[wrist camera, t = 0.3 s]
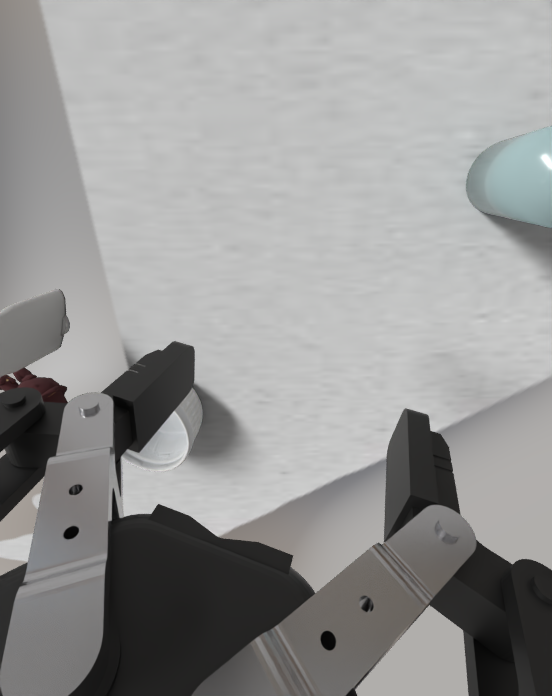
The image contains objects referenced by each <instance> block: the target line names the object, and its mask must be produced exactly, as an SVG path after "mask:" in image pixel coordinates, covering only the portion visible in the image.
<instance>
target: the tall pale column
mask: <svg viewBox="0 0 552 696" xmlns="http://www.w3.org/2000/svg"><path fill="white" fill-rule="evenodd" d="M69 328H70V323H69V320H68V317H67V316H66V305H65V297H64V295H63V292H62V291H61V290H60V289H55V290H53V291H50V292H47V293H44V294H41V295H38V296H35V297H32V298H29V299H27V300H24V301H21V302H18V303H15V304H12V305H9V306H8V307H6V308H5V309H3V310H1V311H0V378H1V377H2V376H3V375H7V374H10V373H14V372H17V371H18V370H20V369H22V368H24V367H26V366H28V365H29V364H31V363H33V362H35V361H37V360H39V359H40V358H42V357H44V356H46V355H48V354H50V353H52V352H53V351H55V350H57V349H58V348H60V347H61V344H62V340H63V337H64V334H65V333H67V332H68V331H69Z"/></svg>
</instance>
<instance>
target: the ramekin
mask: <svg viewBox="0 0 552 696" xmlns="http://www.w3.org/2000/svg"><path fill="white" fill-rule="evenodd" d="M202 418H203V410H202V405H201V401H200V399H199V397H198V395H197V393H196V392H195V390H194V389H193V388H192V389H191V391H190V392H189V394H188V395H187V396H186V397H185V399H184V400H183V401H182V402H181V403H180V405H179V406H178V407H177V408H176V409H175V411H174V412H173V413H172V414H171V415H170V417H169V418H168V419H167V420H166V421H165V423H164V424H163V425H162V426H161V427H160V429H159V430H158V431H157V432H156V433H155V435H154V436H153V437H152V438H151V439H150V441H149V442H148V443H147V444H146V446H145V447H144V448H143V449H142V450H141V452H140V453H137V452H134V451H131V450H129V449H127V450H126V452H125V453H124V454H123V455H122V459H123V460H125V461H126V462H128V463H130V464H131V465H133V466H136V467H138V468H141V469H144V470H148V471H154V472H163V471H169V470H172V469H174V468H176V467H178V466H179V465H181V464H182V463H183V461H184V460H185V459H186V457H187V456H188V455H189V453H190V451H191V449H192V446H193V442H194V440H195V438H196V436H197V434H198V432H199V429H200V426H201V423H202Z"/></svg>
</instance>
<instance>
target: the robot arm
mask: <svg viewBox="0 0 552 696" xmlns="http://www.w3.org/2000/svg"><path fill="white" fill-rule="evenodd" d="M194 362H195V351H194V347H193V346H190V345H186V344H183V343H179V342H176V341H174V342H172V343H171V344H170V345H168V346H167V347H166V348H165V349H164V350H163V351H161V350H156V351H154V352H152V353H149V354H147V355H145V356H144V357H143V358H141V359H140V360H139V361H138V362H137V363H136V365H135V364H134V365H133V366H132V367H131V368H130V369H129V371H126V372H125V373H124V374H123V375H121V376H120V377H119V378H118V379H117V380H115V381H114V382H113V383H112V384H111V385H110V386H108V387H107V388H106V389H105V390H104V391H102V392H101V393H96V392H95V393H86V394H82V395H80V396H77V397H75V398H74V399H72V400H71V401H70V402H69V403H55V402H43V399H42V396H41V393H40V392H39V391H38V390H36V389H34V388H28V387H21V388H14V389H10V390H7V391H5V392H2V393H0V452H1V451H2V450H3V449H5V451H6V454H5V455H4V456H3V457H1V458H0V521H1V520H2V519H3V518H4V517H5V516H6V515H7V514H8V513H9V512H10V511H11V510H12V509H13V508H14V507H15V506H16V505H17V504H18V503H19V502H20V501H21V500H22V499H23V498H24V497H25V496H26V495H27V493H29V491H30V490H31V489H32V488H33V487H34V486H35V485H36V484H37V483H38V482H39V481H40V480H41V479H42V478H43V477H44V476H45V477H44V482H43V488H42V492H41V497H40V502H39V508H38V513H37V518H36V523H35V529H34V533H33V539H32V544H31V549H30V554H29V559H28V562H27V563H26V564H23V565H21V566H19V567H17V568H15V569H13V570H11V571H9V572H7V573H6V574H3V575H1V576H0V696H357V694H356V691H355V689H356V688H357V687H358V686H359V685H360V684H361V682H362V681H363V680H364V679H365V678H366V677H367V676H368V674H369V673H370V672H371V671H372V670H373V669H374V668H375V666H376V665H377V664H378V663H379V662H380V661H381V659H382V658H383V657H384V656H385V655H386V653H388V651H389V650H390V649H391V648H392V646H394V644H395V643H396V642H397V641H398V640H399V639H400V638H401V637H402V635H403V634H404V633H405V632H406V631H407V630H408V629H409V627H410V626H411V625H412V624H413V623H414V622H415V621H416V619H417V618H418V617H419V616H420V615H421V614H422V613H423V612H424V610H425V609H426V608H427V607H428V606H429V605H430V606H432V607H433V608H434V609H436V610H437V611H438V612H440V613H441V614H442V615H444V616H445V617H446V618H448V619H449V620H450V621H452V622H453V623H454V624H456V625H457V626H458V627H460V628H461V629H462V630H463V632H464V644H465V656H466V668H467V681H468V692H469V696H552V570H550V569H549V568H548V567H546V566H544V565H543V564H541V563H538V562H536V561H533V560H529V559H521V560H518V561H516V562H515V563H514V564H511V563H509V562H508V561H506V560H505V559H503V558H501V557H500V556H498V555H497V554H495V553H494V552H492V551H490V550H489V549H487V548H486V547H484V546H483V545H482V544H481V543H479V542H478V541H477V540H476V537H475V534H474V532H473V530H472V528H471V527H470V525H469V523H468V522H467V521H466V520H465V519H464V518H463V517H462V516H461V515H460V510H459V504H458V498H457V492H456V486H455V480H454V474H453V473H452V472H453V468H452V463H451V457H450V451H449V447H448V445H447V444H446V442H445V440H444V439H443V437H442V436H441V434H438V433H435V432H432V431H430V424H429V416H428V415H427V414H423V413H420V412H416V411H413V410H410V409H404V411H403V413H402V415H401V417H400V419H399V421H398V424H397V426H396V428H395V430H394V433H393V435H392V437H391V440H390V443H389V446H388V451H387V467H386V496H385V527H384V528H385V529H384V542H385V543H384V544H382V545H381V544H380V543H377V544H375V545H373V546H372V547H371V548H369V549H368V550H367V551H366V552H365V553H363V554H362V555H361V556H360V557H359V558H357V559H356V560H355V561H354V562H353V563H351V564H350V565H349V566H348V567H347V568H345V569H344V570H343V571H342V572H341V573H339V574H338V575H337V576H336V577H335V578H333V579H332V580H331V581H330V582H329V583H327V584H326V585H325V586H324V587H323V588H321V589H320V590H319V591H318V592H317V593H315V592H314V590H313V589H312V587H311V586H310V585H309V584H308V583H307V581H306V580H305V579H304V578H303V577H302V576H301V575H300V574H299V573H298V572H296V571H295V570H294V569H292V568H291V567H290V566H291V562H292V558H293V555H290V554H288V553H285V552H282V551H280V550H277V549H274V548H272V547H269V546H267V545H264V544H261V543H259V542H251V541H241V540H232V539H223V538H219V537H217V536H215V535H214V534H213V533H211V532H210V531H209V530H208V529H206V528H205V527H204V526H202V525H201V524H200V523H198V522H197V521H196V520H194V519H193V518H192V517H190V516H188V515H186V514H183V513H181V512H178V511H175V510H173V509H170V508H167V507H165V506H162V505H160V504H158V505H157V506H156V508H155V510H154V511H153V513H152V514H136V515H130V516H126V517H124V513H123V472H122V455H123V454H124V453H125V452H126V450H127V449H129V450H131V451H134V452H137V453H140V452H141V450H142V449H143V448H144V447H145V446H146V444H147V443H148V442H149V441H150V439H151V438H152V437H153V436H154V435H155V433H156V432H157V431H158V430H159V429H160V427H161V426H162V425H163V424H164V423H165V421H166V420H167V419H168V418H169V417H170V415H171V414H172V413H173V412H174V411H175V409H176V408H177V407H178V406H179V405H180V403H181V402H182V401H183V400H184V399H185V397H186V396H187V395H188V394H189V392H190V391H191V389H192V386H193V383H194Z"/></svg>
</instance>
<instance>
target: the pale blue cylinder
mask: <svg viewBox="0 0 552 696" xmlns="http://www.w3.org/2000/svg"><path fill="white" fill-rule="evenodd" d="M466 191H467V196H468V198H469V200H470V202H471V203H472V205H473V206H474V207H475V208H476V209H478V210H479V211H481V212H484V213H487V214H491V215H495V216H500V217H504V218H509V219H513V220H518V221H522V222H526V223H531V224H535V225H540V226H544V227H548V228H552V126H549V127H546V128H543V129H539V130H536V131H533V132H530V133H526V134H523V135H520V136H517V137H513V138H510V139H507V140H504V141H501V142H498V143H496V144H494V145H492V146H490V147H489V148H487V149H486V150H485V151H483V152H482V153H481V154H480V155H479V156H478V157H477V159H476V160H475V161H474V163H473V164H472V166H471V168H470V170H469V173H468V176H467V180H466Z"/></svg>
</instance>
